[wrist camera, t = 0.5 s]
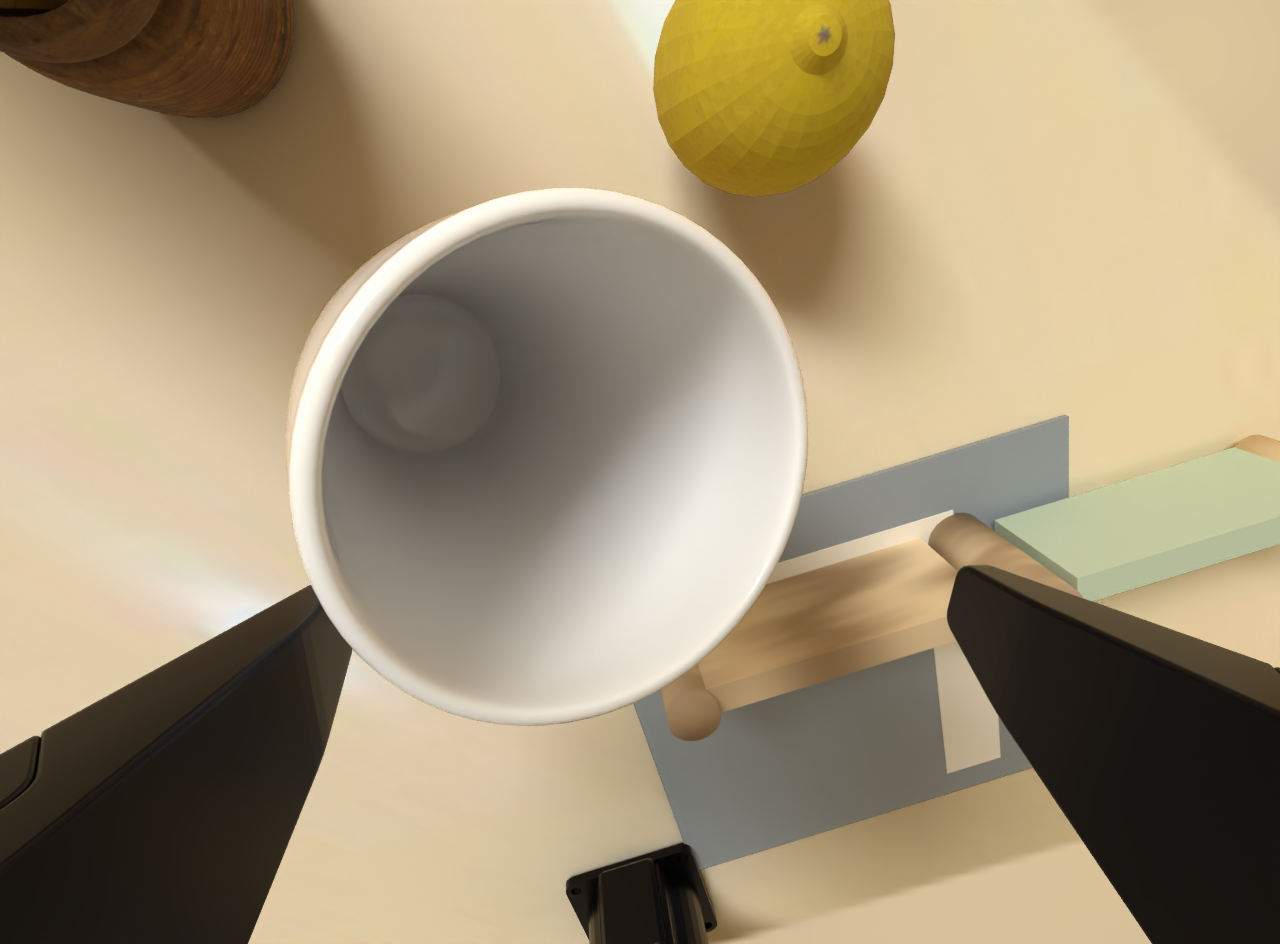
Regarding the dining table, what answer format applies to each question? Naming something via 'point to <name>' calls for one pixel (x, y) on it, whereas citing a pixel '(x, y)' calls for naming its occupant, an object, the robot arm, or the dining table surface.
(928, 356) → the dining table surface
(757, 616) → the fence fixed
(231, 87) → the utensil holder
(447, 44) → the dining table surface
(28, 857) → the robot arm
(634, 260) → the white tumbler
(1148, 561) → the fence panel
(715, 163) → the lemon
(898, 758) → the card
